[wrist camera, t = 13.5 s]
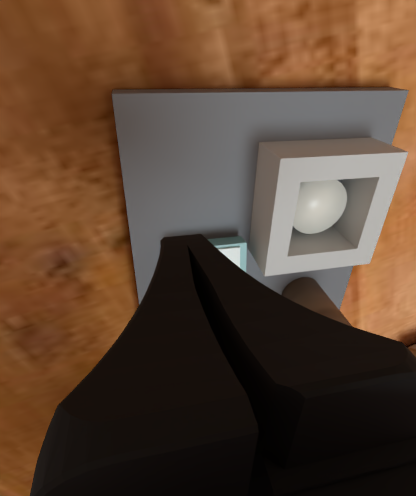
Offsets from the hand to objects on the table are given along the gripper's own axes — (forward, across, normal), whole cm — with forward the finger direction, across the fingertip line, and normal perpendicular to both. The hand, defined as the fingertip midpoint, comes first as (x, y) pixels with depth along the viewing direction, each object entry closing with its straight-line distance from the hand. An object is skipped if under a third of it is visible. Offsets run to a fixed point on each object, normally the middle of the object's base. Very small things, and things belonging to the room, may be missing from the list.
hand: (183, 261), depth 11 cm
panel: (+10, -6, +5) cm, 13 cm away
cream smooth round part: (+8, -9, +2) cm, 12 cm away
